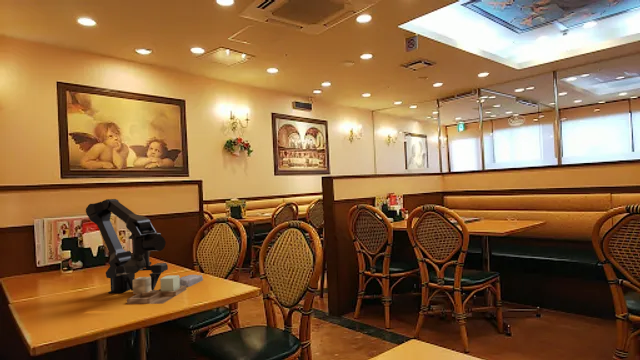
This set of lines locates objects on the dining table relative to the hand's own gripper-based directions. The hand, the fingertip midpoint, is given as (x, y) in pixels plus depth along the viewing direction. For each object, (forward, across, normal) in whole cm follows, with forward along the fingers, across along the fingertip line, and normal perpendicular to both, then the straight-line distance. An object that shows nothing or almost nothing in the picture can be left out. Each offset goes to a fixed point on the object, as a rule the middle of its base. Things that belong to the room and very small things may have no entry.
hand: (142, 290), depth 152 cm
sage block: (0, +13, -2) cm, 13 cm away
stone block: (+2, +12, +12) cm, 17 cm away
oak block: (+1, 0, 0) cm, 1 cm away
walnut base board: (+1, +10, -7) cm, 12 cm away
